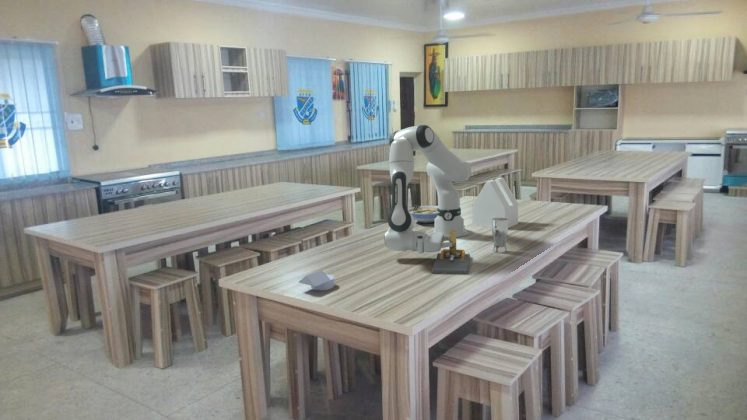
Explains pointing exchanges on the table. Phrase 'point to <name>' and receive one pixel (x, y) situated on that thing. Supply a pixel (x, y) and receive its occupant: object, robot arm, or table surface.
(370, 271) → the table surface
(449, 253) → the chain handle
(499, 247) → the beer glass
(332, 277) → the wedge on round base
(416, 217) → the ramen bowl
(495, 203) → the milk carton
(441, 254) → the rail board
